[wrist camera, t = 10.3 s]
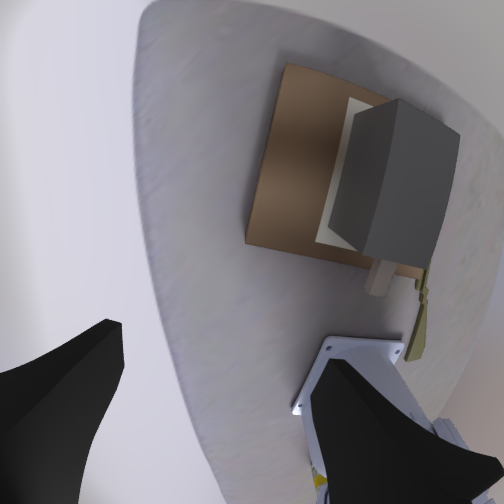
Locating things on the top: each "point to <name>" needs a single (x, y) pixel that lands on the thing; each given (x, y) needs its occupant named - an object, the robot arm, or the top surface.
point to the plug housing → (394, 188)
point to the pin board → (308, 168)
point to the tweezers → (419, 321)
